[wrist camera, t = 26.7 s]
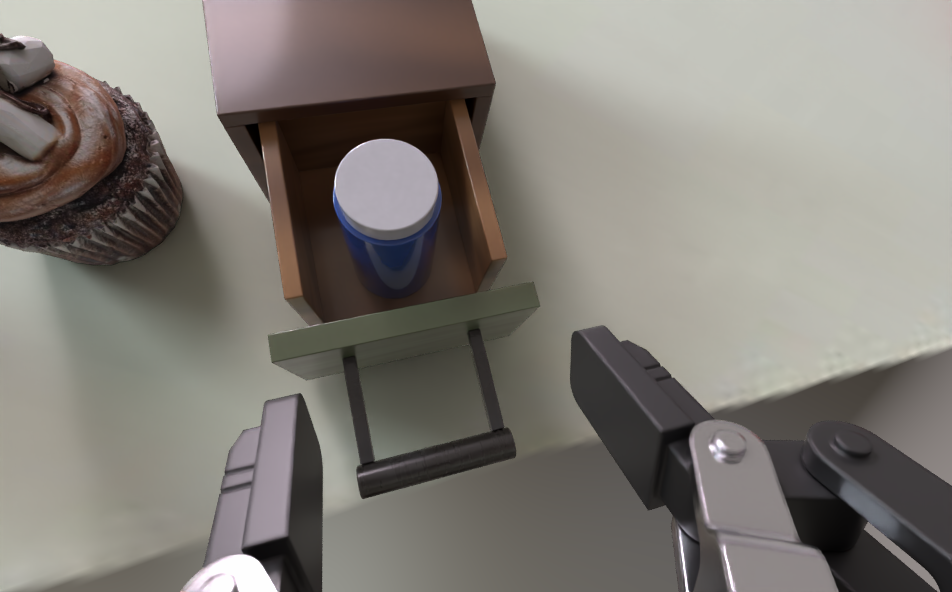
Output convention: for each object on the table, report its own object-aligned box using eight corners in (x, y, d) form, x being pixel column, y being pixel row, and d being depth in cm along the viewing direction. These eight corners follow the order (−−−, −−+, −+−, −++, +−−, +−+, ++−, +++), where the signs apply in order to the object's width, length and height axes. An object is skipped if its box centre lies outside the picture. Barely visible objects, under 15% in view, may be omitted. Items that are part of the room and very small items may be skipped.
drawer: (537, 442, 27) (580, 446, 20) (324, 500, 25) (293, 525, 18) (460, 148, 31) (474, 72, 25) (273, 174, 29) (234, 98, 22)
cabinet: (473, 175, 32) (496, 83, 23) (271, 206, 29) (216, 115, 21) (428, 8, 35) (435, -126, 27) (243, 23, 33) (186, -119, 24)
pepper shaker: (347, 293, 26) (318, 226, 18) (361, 220, 28) (340, 124, 19) (427, 304, 27) (436, 243, 18) (437, 232, 28) (450, 144, 20)
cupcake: (45, 309, 26) (-165, 238, 17) (-5, 163, 28) (-220, 22, 18) (222, 241, 28) (128, 143, 19) (166, 110, 30) (54, -40, 21)
